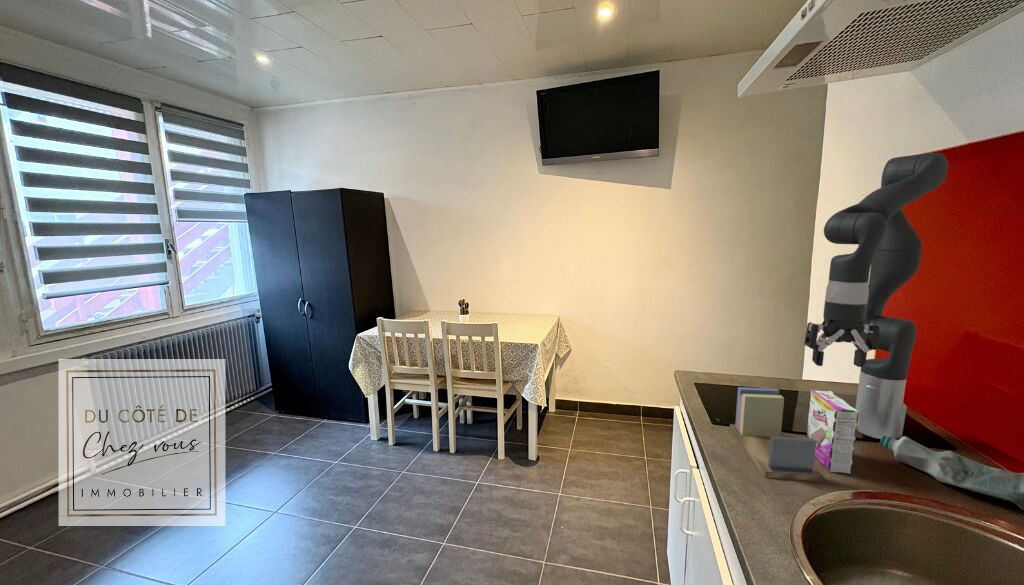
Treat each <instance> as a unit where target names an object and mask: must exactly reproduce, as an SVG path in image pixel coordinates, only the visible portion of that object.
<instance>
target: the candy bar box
mask: <svg viewBox="0 0 1024 585" xmlns="http://www.w3.org/2000/svg"><path fill="white" fill-rule="evenodd" d="M808 408H809V410H808V420H807V428H806V437H805V438H813V439H814V440H815V441H816V447H815V456H814V458H815V459H817V460H818V461H819V462H820V464H821V465H822V466H823V467H824V468H825V469H826V470H827V471H828V472H829V473H835V474H837V473H838V474H847V475H851V474H852V467H853V460H854V452H855V444H856V443H855V442H856V437H857V421H858V414H859V411H857V410H856V407H853V406H852V405H851V404H849V403H848V402H847V401H845V400H844V399H843V398H841V397H840V396H838V395H837V394H836V393H834V392H833V391H831V390H817V389H814V390H813V389H811V390H810V395H809V406H808Z"/></svg>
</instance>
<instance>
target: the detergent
mask: <svg viewBox="0 0 1024 585" xmlns="http://www.w3.org/2000/svg"><path fill="white" fill-rule="evenodd" d="M879 444H880V446H882V447H884V448H885V449H886V450H889V451H892V452H893V457H894V458H895V460H896V461H898V462H900V463H904V464H905V465H908V466H911V467H913V468H916V469H917V470H920V471H922V472H924V473H926V474H928V475H930V476H932V477H933V478H935V479H936V480H937V481H939V482H940V483H945V484H948V485H952V486H956V487H959V488H962V489H966V490H969V491H972V492H976V493H980V494H983V495H987V496H990V497H994V498H997V499H1001V500H1006V501H1008V502H1011V503H1014V504H1015V505H1017V506H1018V507H1019V508H1020V509H1021V510H1023V511H1024V472H1018V473H1017V472H1014V471H1009V470H1005V469H1001V468H996V467H992V466H988V465H985V464H982V463H981V462H978V461H975V460H972V459H970V458H968V457H966V456H963V455H961V454H959V453H957V452H955V451H952V450H945V451H935V450H933V449H931V448H929V447H926V446H924V445H922V444H921V443H918V442H917V441H915V440H913V439H911V438H909V437H907V436H902V438H899V439H897V438H896V439H894V438H892V437H886V436H883V437H882V438H881V439H880V441H879Z"/></svg>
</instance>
